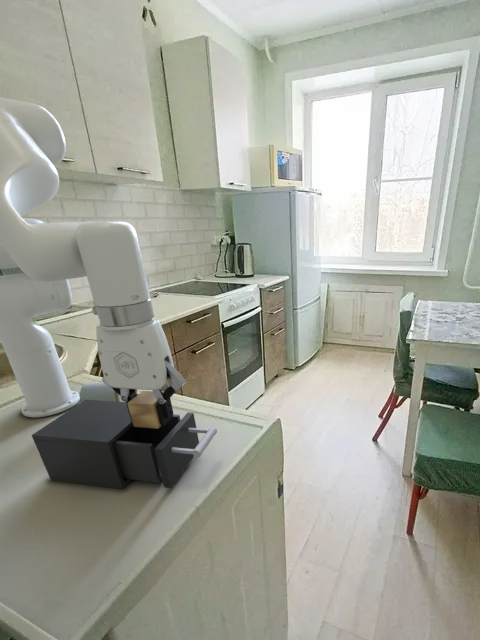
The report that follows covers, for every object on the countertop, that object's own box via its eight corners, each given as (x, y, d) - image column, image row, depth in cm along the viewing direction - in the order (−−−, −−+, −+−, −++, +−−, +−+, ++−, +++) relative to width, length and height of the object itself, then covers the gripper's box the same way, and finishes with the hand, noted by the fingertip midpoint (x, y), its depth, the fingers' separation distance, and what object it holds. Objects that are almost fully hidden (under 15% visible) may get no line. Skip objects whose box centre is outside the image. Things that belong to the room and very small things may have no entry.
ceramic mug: (123, 416, 82) (115, 386, 79) (85, 422, 80) (75, 391, 77) (131, 397, 91) (124, 369, 88) (97, 401, 90) (88, 374, 87)
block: (133, 426, 58) (127, 403, 56) (148, 413, 62) (142, 390, 60) (158, 428, 57) (152, 404, 55) (171, 414, 61) (166, 391, 59)
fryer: (161, 445, 71) (151, 403, 66) (123, 489, 60) (107, 442, 55) (98, 439, 74) (85, 399, 69) (50, 480, 63) (31, 435, 58)
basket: (225, 449, 67) (220, 414, 63) (200, 492, 57) (192, 452, 53) (137, 441, 71) (128, 408, 67) (99, 480, 61) (86, 442, 57)
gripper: (58, 320, 50) (94, 428, 58) (165, 321, 47) (188, 436, 55) (94, 307, 57) (122, 406, 65) (190, 307, 53) (208, 412, 61)
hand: (152, 418), depth 60 cm, fingers closed on block, 4 cm apart
